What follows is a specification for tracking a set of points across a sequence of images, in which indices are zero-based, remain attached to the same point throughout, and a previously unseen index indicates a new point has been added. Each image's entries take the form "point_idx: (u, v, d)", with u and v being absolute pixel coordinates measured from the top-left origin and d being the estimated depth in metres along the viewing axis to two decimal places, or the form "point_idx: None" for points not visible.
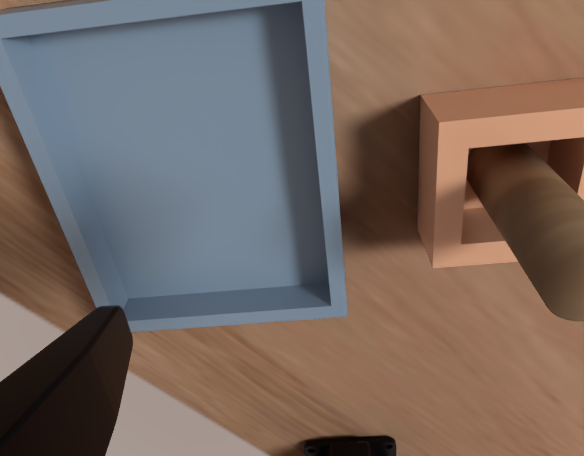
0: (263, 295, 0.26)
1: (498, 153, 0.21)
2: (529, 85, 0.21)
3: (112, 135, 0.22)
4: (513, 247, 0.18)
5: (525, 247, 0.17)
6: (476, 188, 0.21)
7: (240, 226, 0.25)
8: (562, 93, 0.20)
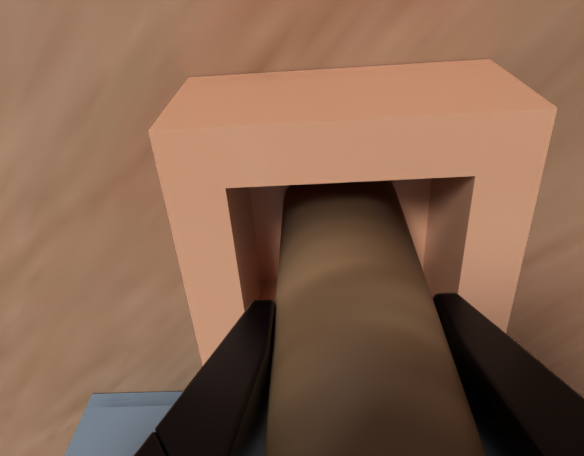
0: None
1: None
2: None
3: None
4: None
5: None
6: None
7: None
8: None
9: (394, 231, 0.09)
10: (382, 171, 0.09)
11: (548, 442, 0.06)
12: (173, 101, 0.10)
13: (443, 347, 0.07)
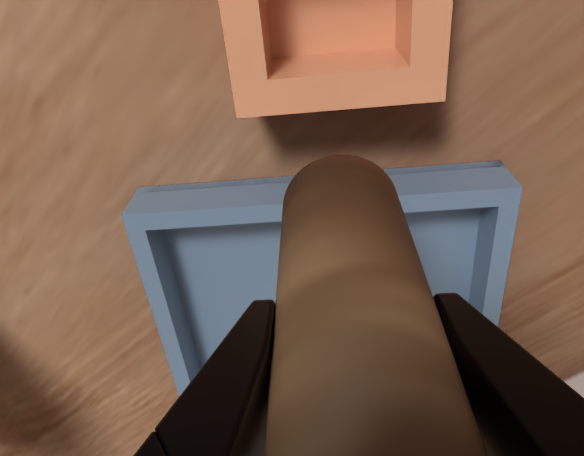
0: (479, 261, 0.22)
1: None
2: None
3: None
4: None
5: None
6: None
7: None
8: None
9: (395, 230, 0.09)
10: None
11: (548, 442, 0.06)
12: None
13: (443, 345, 0.07)
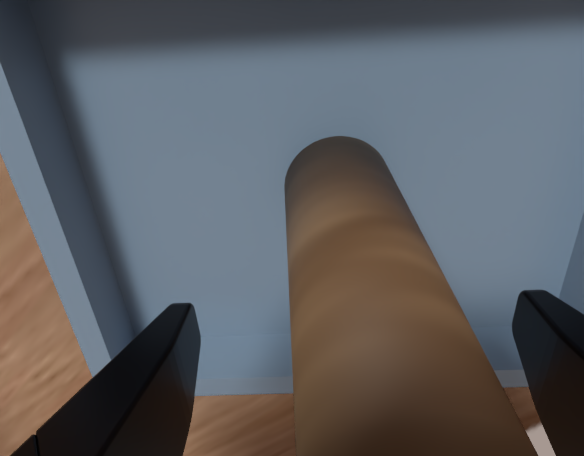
0: None
1: None
2: None
3: (265, 286, 0.16)
4: None
5: None
6: None
7: (450, 130, 0.13)
8: None
9: (392, 193, 0.11)
10: None
11: None
12: None
13: (443, 278, 0.08)
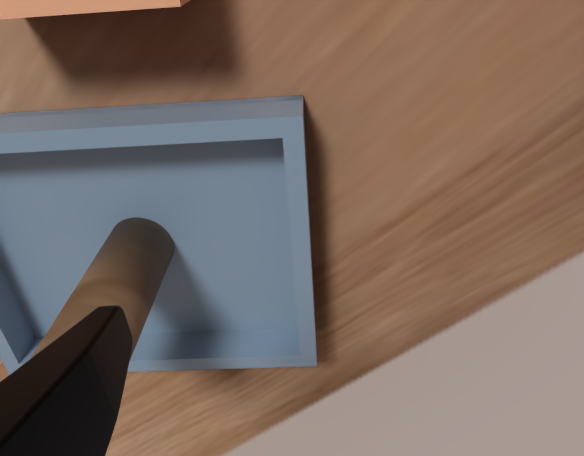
0: None
1: None
2: None
3: None
4: None
5: None
6: None
7: (200, 215, 0.22)
8: None
9: (135, 261, 0.20)
10: None
11: None
12: None
13: None
